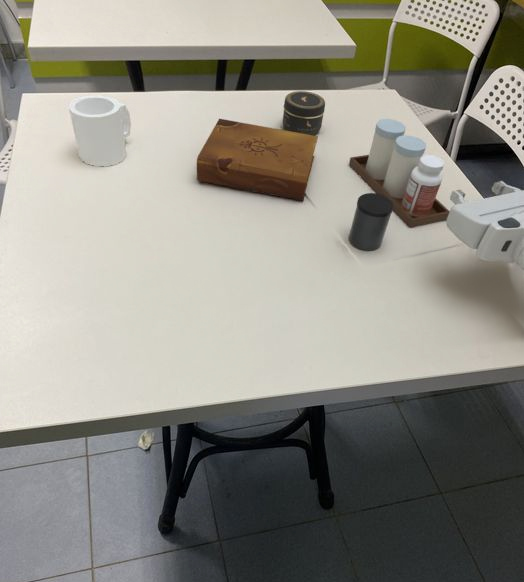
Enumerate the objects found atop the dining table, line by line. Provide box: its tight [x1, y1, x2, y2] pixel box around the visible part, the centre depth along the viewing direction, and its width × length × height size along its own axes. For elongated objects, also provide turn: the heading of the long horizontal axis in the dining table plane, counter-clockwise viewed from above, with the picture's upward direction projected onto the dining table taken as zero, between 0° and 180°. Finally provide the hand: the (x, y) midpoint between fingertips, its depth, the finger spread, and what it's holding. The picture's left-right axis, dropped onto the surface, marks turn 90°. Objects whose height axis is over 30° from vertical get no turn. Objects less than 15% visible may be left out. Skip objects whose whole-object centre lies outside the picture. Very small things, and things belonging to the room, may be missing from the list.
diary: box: [196, 118, 318, 202], centre depth 108 cm, size 23×19×6 cm
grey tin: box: [348, 192, 394, 252], centre depth 93 cm, size 7×7×9 cm
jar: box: [282, 90, 326, 136], centre depth 121 cm, size 10×10×8 cm
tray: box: [348, 154, 450, 229], centre depth 108 cm, size 25×10×2 cm, turn 23°
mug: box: [68, 94, 132, 167], centre depth 106 cm, size 14×10×11 cm
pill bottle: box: [401, 154, 445, 217], centre depth 100 cm, size 6×6×11 cm
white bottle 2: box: [383, 134, 427, 198], centre depth 104 cm, size 6×6×11 cm
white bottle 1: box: [365, 118, 407, 180], centre depth 108 cm, size 6×6×11 cm
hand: (475, 189), depth 88 cm, fingers open, 8 cm apart
